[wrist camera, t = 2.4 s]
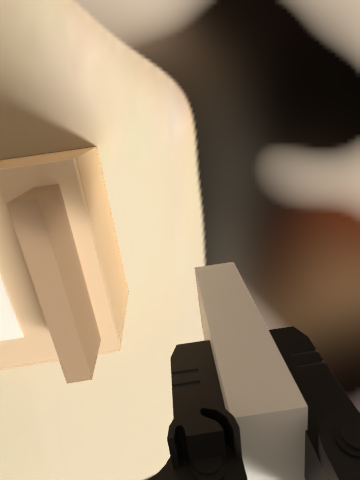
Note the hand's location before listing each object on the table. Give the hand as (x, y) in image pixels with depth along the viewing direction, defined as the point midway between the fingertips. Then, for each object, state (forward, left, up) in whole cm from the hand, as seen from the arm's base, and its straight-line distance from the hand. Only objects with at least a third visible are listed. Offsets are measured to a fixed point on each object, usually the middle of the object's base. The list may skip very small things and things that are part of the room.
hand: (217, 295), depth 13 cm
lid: (-12, 0, -5) cm, 13 cm away
